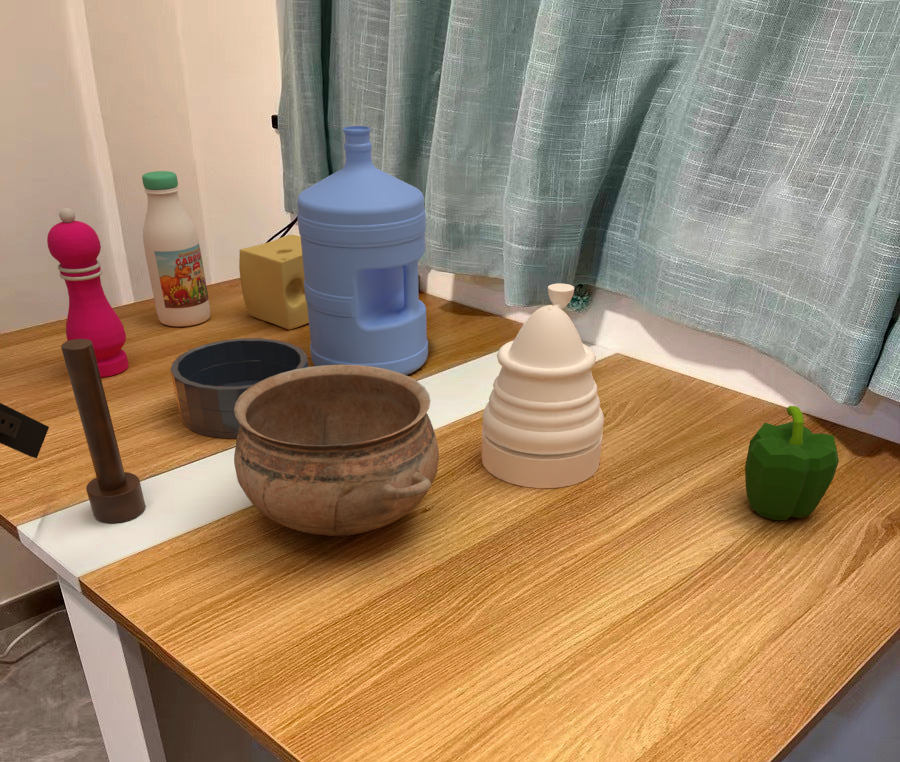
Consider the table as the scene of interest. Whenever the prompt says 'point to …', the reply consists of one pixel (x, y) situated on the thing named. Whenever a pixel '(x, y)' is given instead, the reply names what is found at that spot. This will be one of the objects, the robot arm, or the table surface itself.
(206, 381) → the bowl
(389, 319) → the water jug
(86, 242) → the pepper mill
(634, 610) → the table surface
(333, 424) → the cooking pot
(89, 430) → the wooden peg on base
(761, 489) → the bell pepper
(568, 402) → the honey pot
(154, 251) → the milk bottle
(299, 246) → the cheese
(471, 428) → the table surface
